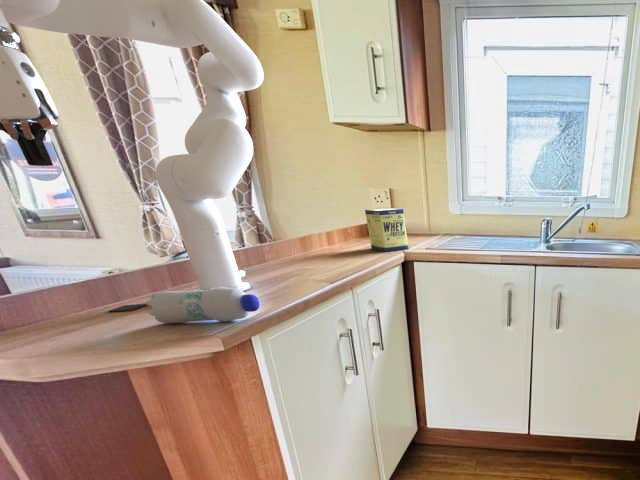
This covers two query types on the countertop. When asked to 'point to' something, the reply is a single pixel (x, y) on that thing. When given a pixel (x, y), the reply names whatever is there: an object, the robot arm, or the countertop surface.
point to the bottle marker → (128, 308)
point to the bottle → (202, 305)
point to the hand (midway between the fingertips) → (41, 165)
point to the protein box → (387, 229)
